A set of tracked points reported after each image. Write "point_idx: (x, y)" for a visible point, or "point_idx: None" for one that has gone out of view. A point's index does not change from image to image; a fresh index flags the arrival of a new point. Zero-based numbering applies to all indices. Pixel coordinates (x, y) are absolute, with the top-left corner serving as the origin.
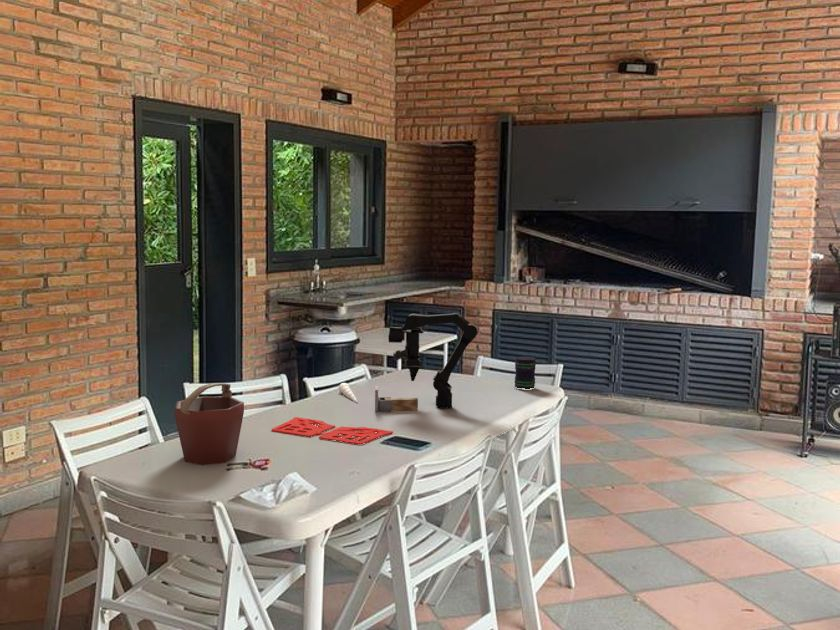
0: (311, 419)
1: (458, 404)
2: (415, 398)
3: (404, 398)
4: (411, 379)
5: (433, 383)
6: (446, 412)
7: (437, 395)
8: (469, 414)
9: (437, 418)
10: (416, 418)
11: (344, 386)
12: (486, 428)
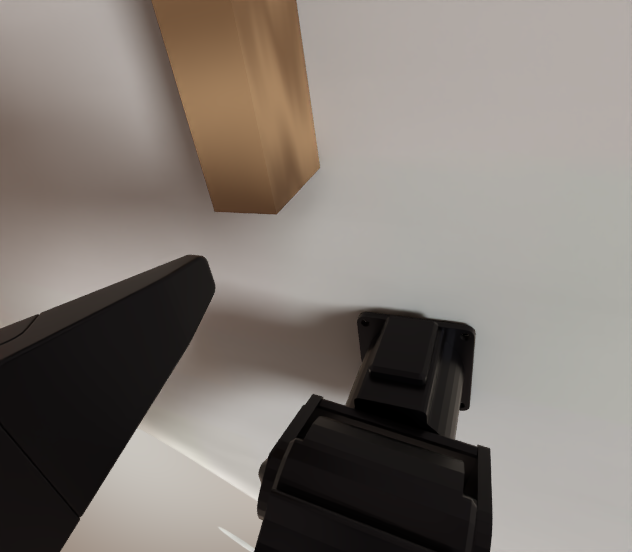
0: None
1: (494, 443)
2: (255, 192)
3: (224, 65)
4: (168, 268)
5: (286, 453)
6: (276, 335)
7: (380, 385)
8: (261, 413)
9: (139, 268)
10: (87, 150)
11: None
12: None
